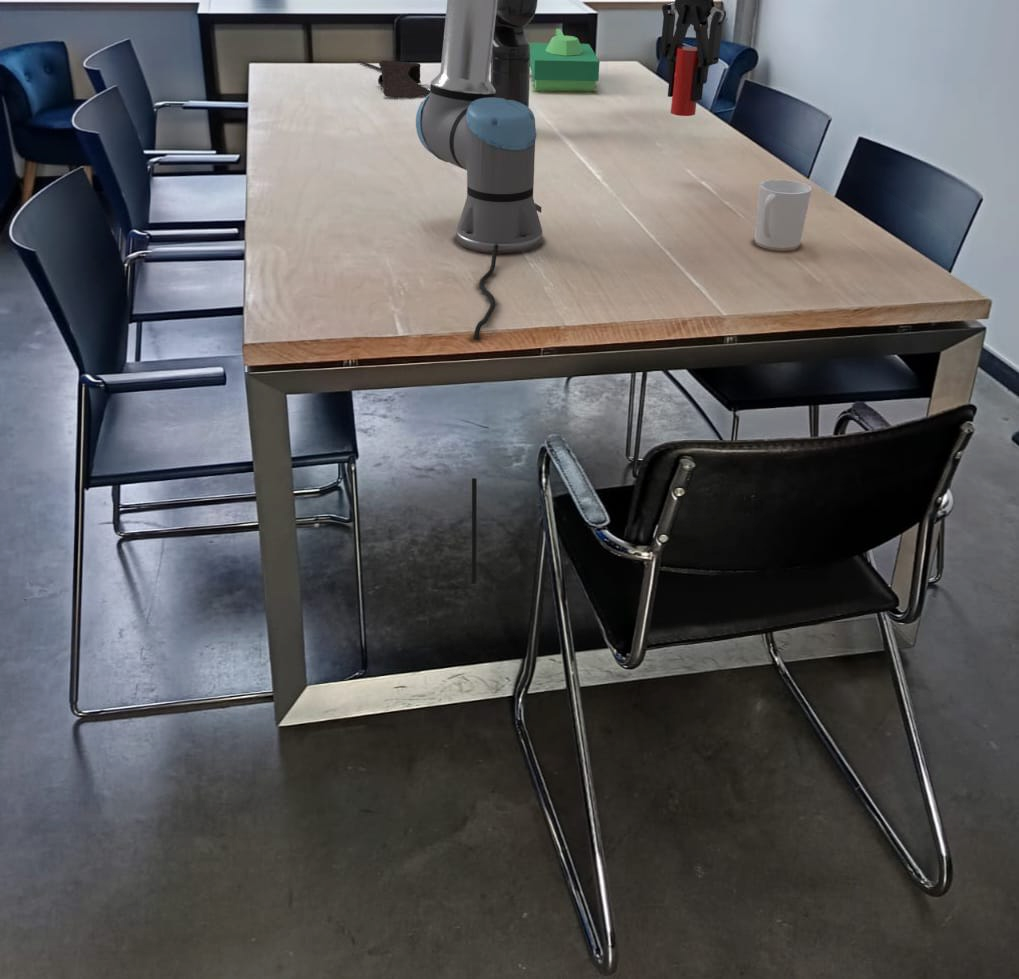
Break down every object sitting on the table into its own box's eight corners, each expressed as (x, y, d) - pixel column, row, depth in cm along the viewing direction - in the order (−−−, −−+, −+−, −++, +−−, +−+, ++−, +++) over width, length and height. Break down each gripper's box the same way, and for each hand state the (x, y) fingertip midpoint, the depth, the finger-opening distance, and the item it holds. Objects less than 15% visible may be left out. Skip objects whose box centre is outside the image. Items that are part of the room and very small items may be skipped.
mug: (766, 232, 202) (774, 176, 197) (810, 242, 198) (820, 186, 192) (737, 246, 195) (744, 189, 190) (782, 258, 190) (791, 199, 185)
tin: (698, 115, 222) (705, 50, 216) (675, 116, 222) (681, 50, 215) (690, 110, 227) (697, 46, 220) (667, 110, 226) (673, 46, 219)
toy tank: (586, 25, 325) (600, 46, 295) (584, 69, 332) (597, 94, 302) (527, 24, 324) (535, 45, 294) (526, 68, 331) (533, 93, 301)
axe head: (443, 87, 294) (392, 77, 287) (436, 115, 299) (385, 106, 292) (421, 62, 307) (371, 52, 300) (414, 89, 311) (365, 80, 304)
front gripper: (748, -25, 208) (732, 102, 220) (669, -34, 218) (658, 88, 230) (727, -22, 203) (712, 108, 215) (648, -31, 213) (637, 93, 225)
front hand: (684, 97), depth 222 cm, fingers closed on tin, 5 cm apart
